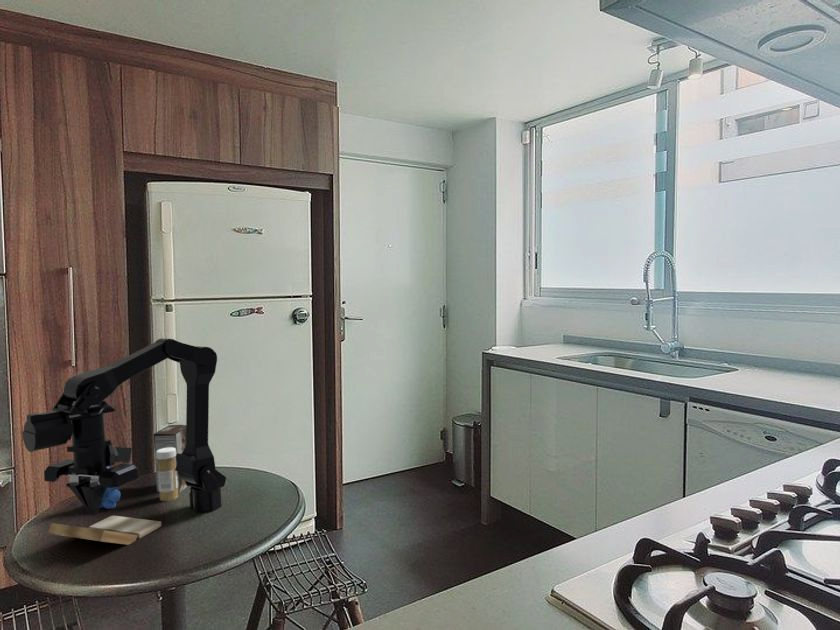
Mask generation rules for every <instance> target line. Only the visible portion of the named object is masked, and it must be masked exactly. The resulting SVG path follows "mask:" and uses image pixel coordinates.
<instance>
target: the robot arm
mask: <svg viewBox="0 0 840 630" xmlns="http://www.w3.org/2000/svg"><path fill="white" fill-rule="evenodd" d="M167 359H169V360H171V361H172V362H175V363H176V362H177V363H179V367H180V373H181V375H182V378H183V380H184V381H185V383H186V409H185V411H186V417H185V418H186V420H185V425H186V446H185V448H184V450H183V452H182V453H177V454H176V462H177V464H176V468H175V471H178V476H179V477H180V478H181V479H182V480H184V482H185V484H186V486H187V487H189V490H190V492H189V494H188V495H189V509H191V510H193V511H194V513H200V514H202V513H210V512H211V513H213V512H215V511H217V510H218V509H220V508H222V493H221V492H222V490H221V489H222V488H223V487H225V484H226V481H227V480H226V479H227V477H226V476H225V475H224V474H222V473H221V472H219V470H217V469H216V462H215V456H214V454H213V452H212V450H211V448H210V446H209V419H210V418H209V408H210V406H209V405H210V401H209V400H210V399H209V397H210V384H211V381H212V379H213V377H214V375H215V373H216V369H217V362H218V354H217V351H215V350H214V349H213V348H211V347H209V346H197V345H191V344H188V343H183V342H181V341H178V340H176V339H173V338H158V339H157V340H156V341H154V342H153V343H150V344H149V345H146V346H145V347H143V348H141V349H139V350H137V351H135V352H133V353H131V354H130V355H128V356H125V357H123V358H122V359H120V360H118V361H116V362H114V363H112V364H110V365H107V366H104V367H101V368H97V369H92V370H88V371H86V372H82V373H79V374H77V375H73V376H71V377H70V378H68V379H66V381H65V383H64V386H63V392H62V394H61V396H60V397H59V399H58V400H57V401H56V403H55V404H54V406H53V407H52V409H51V411H45V412H40V413H29V414H27V415H26V421H25V423H24V425H23V430H22V433H21V434H22V435H21V436H22V440H23V444H24V446H25V448H26V450H27V451H28V452H29V453H32V452H33V453H34V452H37V451H40V450H46V449H49V448H53V447H57V446H58V447H59V446H62V445H65V444H67V443H68V441H70V440H71V445H68V446H66V451H67V453H72V459H69V458H68V459H64V460H62V461H60V462H57V463H53V464H50V465H48V466H47V467H46V468H45V470H44V471H43V476H44V482H50V483H55V482H58V480H59V479H60V477H61V476H67V477H69V482H68V483H66V484H65V487H66V488H69V490H70V491H71V492H72V493H73V494H74V495H75V496H76V498H77V499H78V500H79V501H80V503H81V504H82V505H83V507H84V508H85V509H86V511H87V513H88V514H89V515H90V516H91V517H93V516H97V515H98V514H99V512H100V506H101V502H102V499H103V496H104V493H105V491H106V488H107V487H108V488H115V487H117V488H118V487H121V486H123V485H125V484H128V483H130V482H132V481H135V480H137V479H139V476H140V473H139V467H137V466H136V465H135V464H130V460H131V457H132V456H131V455H132V450H133V447H125V446H124V447H123V446H113V442H112V440H111V439H107V438H106V427H105V424H106V423H105V414H108V413H114V412H115V411H116V408H115V407H113V406H111V405H110V404H109V403H108V402H107V400H106V399H107V398H108V397H110V396H111V395H113V393H115V391H116V390H117V389H118V387H119V386H121V385H122V384H123V383H125V382H127V381H128V380H130V379H132V378H133V377H135V376H138V375H139V374H141V373H143V372H145V371H147V370H148V369H150V368H152V367H154V366H155V365H157V364H159V363H161V362H163V361H165V360H167ZM105 400H106V401H105ZM119 462H121V463H119ZM116 463H119V464H117V465H116ZM107 466H109V467H110V468H107ZM111 466H112V467H111Z"/></svg>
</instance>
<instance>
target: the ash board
mask: <svg viewBox="0 0 840 630" xmlns="http://www.w3.org/2000/svg"><path fill="white" fill-rule="evenodd" d="M160 527H162V521H158V520H153V519H152V520H150V519H143V518H137V517H129V516H119V515H110V516H109V517H106V518H104V519H103V520H100V521H97V522H96V523H93V524H92V525H89V526H88V528H91V529H98V530H106V531H112V532H119V533H126V534H133V535H137V538H136V539H141V538H143V537H145V536H146V535H148V534H150V533H152V532H153V531H156V530H157V529H159V528H160Z"/></svg>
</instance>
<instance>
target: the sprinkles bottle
mask: <svg viewBox="0 0 840 630" xmlns="http://www.w3.org/2000/svg"><path fill="white" fill-rule="evenodd" d="M156 458H157V463H158V484H159V493H158V494H159V501H161V502H170V501H174V500H177V498H179V493H178V481H177V471H175V468H176V449H175V448H173V447H168V448H162V449H159V450H157V451H156Z"/></svg>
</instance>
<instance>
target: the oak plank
mask: <svg viewBox="0 0 840 630" xmlns="http://www.w3.org/2000/svg"><path fill="white" fill-rule="evenodd" d="M47 534H48V535H49V534H50V535H56V536H63V537H69V538H76V539H83V540H90V541H96V542H103V543H111V544H120V545H127V546H128V545H130V544H132V543H134V542H136V541H137V539H138V538H137V535H133V534H126V533H119V532H112V531H106V530H98V529H91V528H89V527H83V526H77V525H75V526H74V525H68V524H62V523H61V524H60V523H53V522H52V523H50V526H49V529H48V532H47Z"/></svg>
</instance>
